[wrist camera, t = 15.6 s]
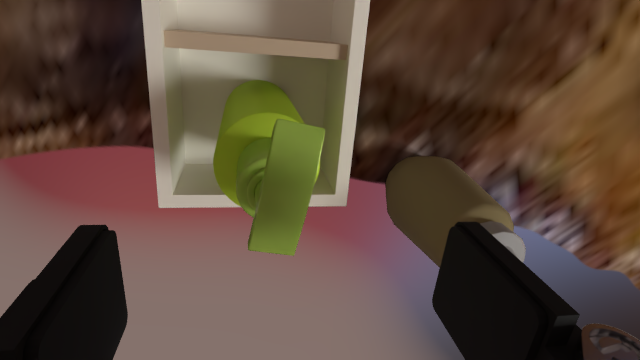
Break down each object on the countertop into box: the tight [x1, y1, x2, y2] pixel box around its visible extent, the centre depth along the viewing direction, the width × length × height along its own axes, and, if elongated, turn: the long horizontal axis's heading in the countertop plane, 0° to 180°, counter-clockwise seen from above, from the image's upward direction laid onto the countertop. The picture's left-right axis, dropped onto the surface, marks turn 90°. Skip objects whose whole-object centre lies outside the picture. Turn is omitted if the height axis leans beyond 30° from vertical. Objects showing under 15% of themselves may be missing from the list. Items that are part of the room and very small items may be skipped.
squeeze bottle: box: [385, 156, 526, 267], centre depth 31 cm, size 8×8×18 cm
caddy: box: [141, 0, 370, 208], centre depth 28 cm, size 24×14×8 cm, turn 175°
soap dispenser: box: [213, 80, 325, 255], centre depth 23 cm, size 6×7×20 cm
